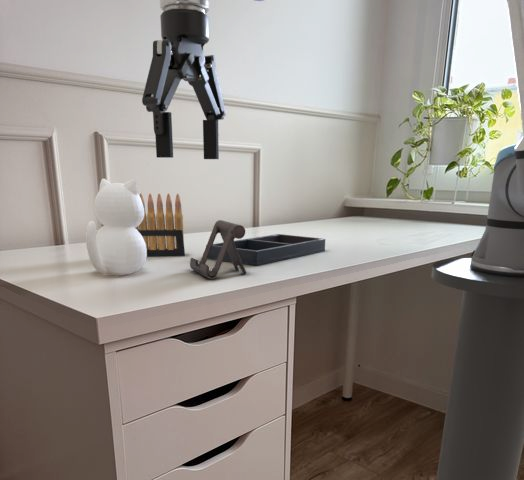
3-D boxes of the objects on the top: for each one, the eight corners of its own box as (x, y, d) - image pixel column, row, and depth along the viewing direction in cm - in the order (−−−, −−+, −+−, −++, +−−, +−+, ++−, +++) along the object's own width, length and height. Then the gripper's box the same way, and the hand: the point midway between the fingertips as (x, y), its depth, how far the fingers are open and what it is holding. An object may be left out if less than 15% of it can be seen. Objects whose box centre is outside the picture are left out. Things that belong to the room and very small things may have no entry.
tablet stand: (189, 270, 90) (187, 220, 87) (231, 267, 93) (231, 219, 90) (206, 280, 82) (205, 226, 79) (251, 276, 85) (251, 224, 82)
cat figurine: (160, 268, 91) (156, 178, 86) (118, 282, 80) (109, 180, 75) (117, 265, 94) (110, 178, 89) (70, 277, 82) (59, 179, 78)
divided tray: (324, 250, 113) (325, 238, 112) (256, 265, 95) (256, 251, 94) (278, 245, 120) (278, 233, 119) (206, 258, 102) (205, 244, 101)
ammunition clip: (130, 256, 103) (126, 193, 99) (131, 254, 105) (127, 193, 101) (184, 255, 104) (182, 193, 100) (184, 254, 106) (182, 193, 102)
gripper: (207, 33, 93) (210, 159, 100) (109, -7, 72) (122, 156, 79) (244, 29, 89) (244, 159, 96) (153, -15, 68) (161, 156, 75)
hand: (189, 158), depth 88 cm, fingers open, 13 cm apart
